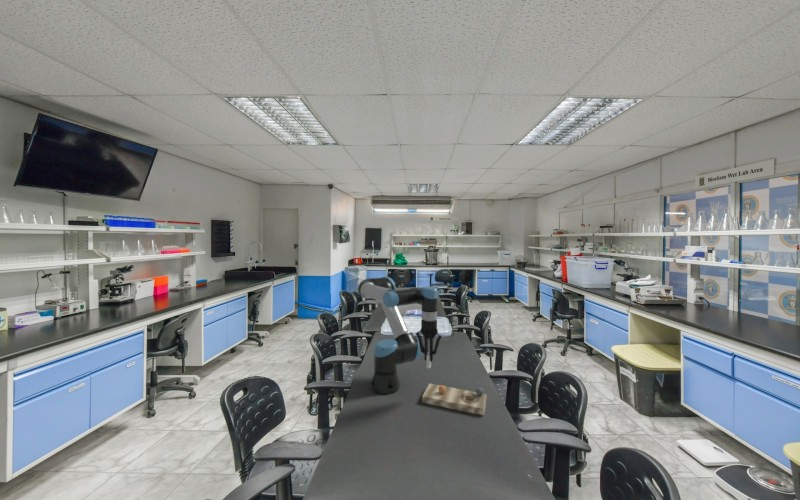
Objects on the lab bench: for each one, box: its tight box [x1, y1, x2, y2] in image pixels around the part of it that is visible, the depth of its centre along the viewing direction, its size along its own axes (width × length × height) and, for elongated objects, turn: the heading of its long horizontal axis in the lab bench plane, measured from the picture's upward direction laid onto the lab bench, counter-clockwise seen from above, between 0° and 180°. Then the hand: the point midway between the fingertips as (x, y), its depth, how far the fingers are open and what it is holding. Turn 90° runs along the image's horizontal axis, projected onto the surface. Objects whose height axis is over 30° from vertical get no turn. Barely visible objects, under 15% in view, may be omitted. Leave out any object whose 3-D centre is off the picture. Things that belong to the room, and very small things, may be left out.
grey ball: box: [475, 387, 484, 396], centre depth 141 cm, size 4×4×4 cm
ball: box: [439, 384, 446, 393], centre depth 143 cm, size 4×4×4 cm
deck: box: [421, 383, 487, 417], centre depth 141 cm, size 28×13×3 cm, turn 70°
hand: (428, 367), depth 145 cm, fingers closed
